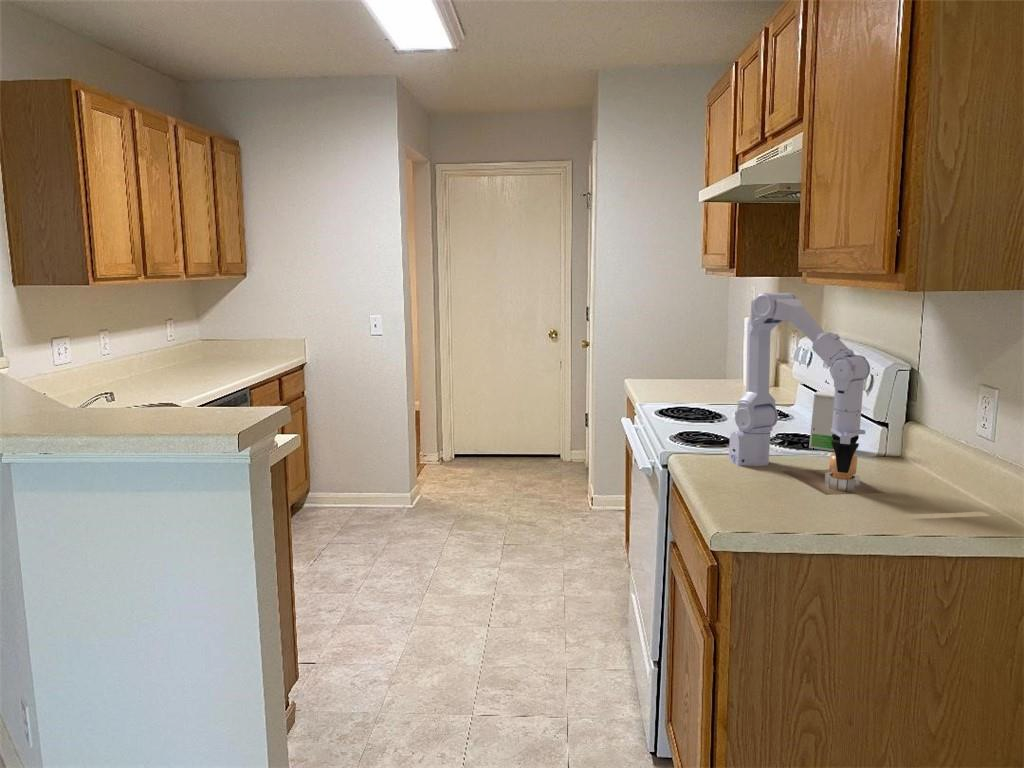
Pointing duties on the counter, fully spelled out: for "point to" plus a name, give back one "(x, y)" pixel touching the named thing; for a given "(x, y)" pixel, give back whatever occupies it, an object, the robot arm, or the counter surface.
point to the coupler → (839, 474)
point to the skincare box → (822, 421)
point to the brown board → (818, 480)
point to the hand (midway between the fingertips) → (842, 469)
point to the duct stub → (842, 482)
